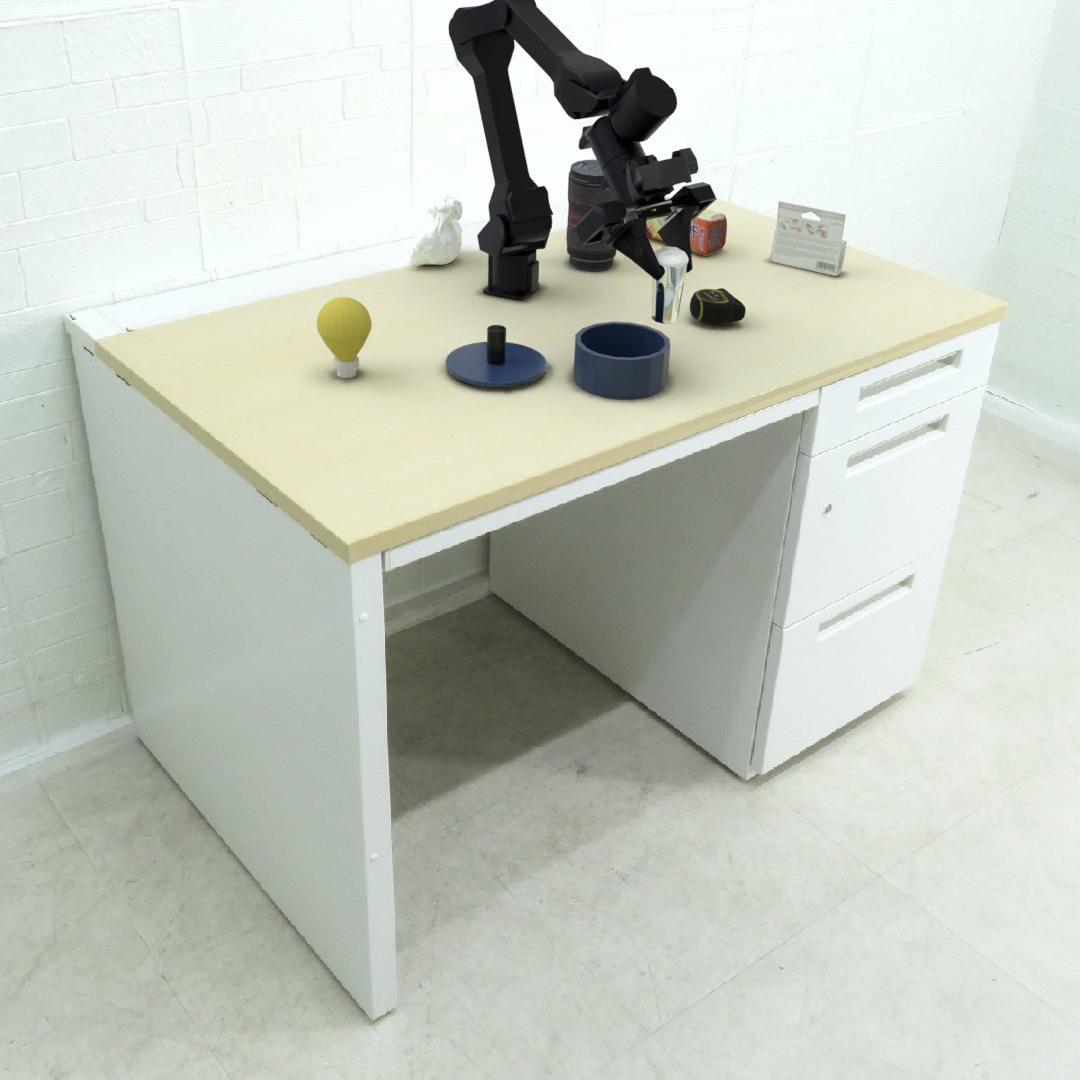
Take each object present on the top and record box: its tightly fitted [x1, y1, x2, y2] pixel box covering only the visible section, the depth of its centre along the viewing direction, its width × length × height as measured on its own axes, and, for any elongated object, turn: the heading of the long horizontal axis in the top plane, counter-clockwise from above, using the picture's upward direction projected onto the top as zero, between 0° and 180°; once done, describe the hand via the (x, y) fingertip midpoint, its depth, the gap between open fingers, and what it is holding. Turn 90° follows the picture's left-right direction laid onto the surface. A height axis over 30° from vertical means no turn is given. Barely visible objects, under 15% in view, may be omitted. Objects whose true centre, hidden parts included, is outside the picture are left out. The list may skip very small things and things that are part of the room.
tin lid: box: [445, 324, 547, 388], centre depth 163 cm, size 13×13×6 cm
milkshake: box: [651, 245, 689, 325], centre depth 160 cm, size 4×5×10 cm
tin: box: [572, 321, 671, 400], centre depth 162 cm, size 12×12×5 cm
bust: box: [409, 194, 463, 267], centre depth 195 cm, size 12×8×11 cm
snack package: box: [647, 195, 728, 257], centre depth 208 cm, size 21×7×7 cm, turn 47°
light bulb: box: [316, 296, 373, 379], centre depth 160 cm, size 7×7×10 cm
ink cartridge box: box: [770, 200, 848, 277], centre depth 198 cm, size 2×11×10 cm, turn 58°
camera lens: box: [565, 159, 618, 272], centre depth 195 cm, size 8×8×15 cm
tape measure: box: [689, 287, 747, 326], centre depth 180 cm, size 7×7×4 cm
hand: (674, 275), depth 159 cm, fingers closed on milkshake, 4 cm apart
